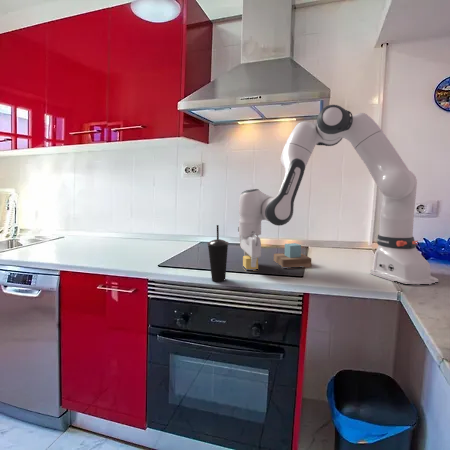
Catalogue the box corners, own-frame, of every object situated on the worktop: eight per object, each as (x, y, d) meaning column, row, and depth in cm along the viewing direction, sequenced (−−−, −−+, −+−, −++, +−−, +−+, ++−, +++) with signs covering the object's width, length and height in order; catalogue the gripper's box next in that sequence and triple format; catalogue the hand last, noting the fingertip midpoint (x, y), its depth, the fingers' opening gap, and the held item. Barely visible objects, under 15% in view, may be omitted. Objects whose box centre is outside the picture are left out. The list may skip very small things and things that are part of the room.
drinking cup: (206, 283, 111) (205, 226, 109) (209, 277, 119) (207, 223, 116) (228, 283, 111) (227, 226, 108) (229, 276, 119) (228, 223, 116)
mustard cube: (258, 270, 127) (258, 258, 127) (246, 271, 126) (245, 258, 126) (254, 267, 132) (254, 255, 131) (243, 267, 131) (242, 256, 131)
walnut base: (311, 267, 131) (311, 258, 130) (283, 269, 129) (283, 260, 128) (299, 261, 143) (299, 252, 142) (273, 262, 141) (273, 253, 140)
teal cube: (300, 256, 133) (301, 245, 133) (290, 257, 132) (290, 246, 131) (295, 254, 138) (295, 243, 137) (284, 255, 137) (284, 243, 136)
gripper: (265, 233, 118) (265, 270, 120) (251, 226, 138) (251, 257, 140) (248, 234, 117) (248, 271, 119) (237, 226, 137) (237, 258, 138)
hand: (250, 263), depth 129 cm, fingers open, 8 cm apart
